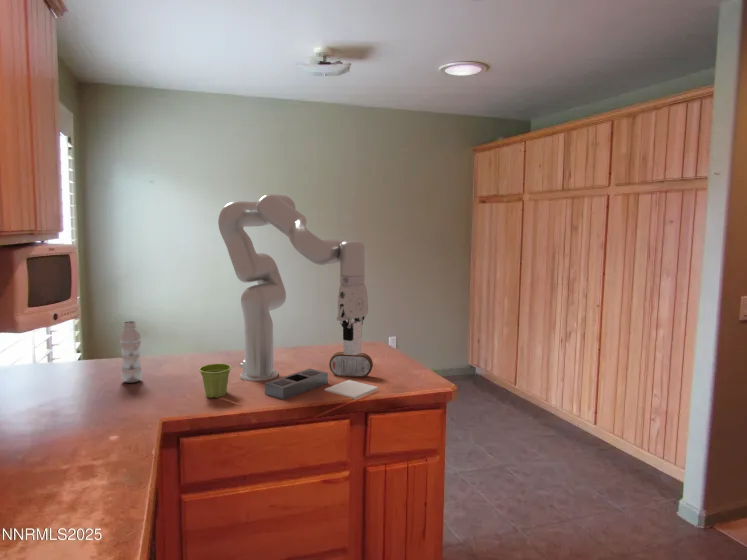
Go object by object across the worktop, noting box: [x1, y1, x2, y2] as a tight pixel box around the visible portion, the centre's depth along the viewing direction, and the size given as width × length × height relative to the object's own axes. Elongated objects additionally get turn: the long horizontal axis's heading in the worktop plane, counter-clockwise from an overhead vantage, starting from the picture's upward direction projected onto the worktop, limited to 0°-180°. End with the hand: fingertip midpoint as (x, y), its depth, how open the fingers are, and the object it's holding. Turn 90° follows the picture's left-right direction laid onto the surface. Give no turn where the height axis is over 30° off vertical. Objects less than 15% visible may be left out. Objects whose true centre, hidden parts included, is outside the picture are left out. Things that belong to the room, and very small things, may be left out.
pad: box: [324, 379, 379, 401], centre depth 170 cm, size 12×12×1 cm
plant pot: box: [198, 363, 232, 399], centre depth 164 cm, size 9×9×9 cm
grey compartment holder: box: [264, 368, 329, 401], centre depth 170 cm, size 8×20×4 cm, turn 143°
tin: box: [328, 351, 374, 378], centre depth 185 cm, size 15×3×8 cm, turn 84°
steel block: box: [342, 319, 363, 355], centre depth 168 cm, size 4×4×10 cm
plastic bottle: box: [119, 320, 143, 384], centre depth 175 cm, size 6×7×20 cm
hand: (352, 338), depth 168 cm, fingers closed on steel block, 4 cm apart
